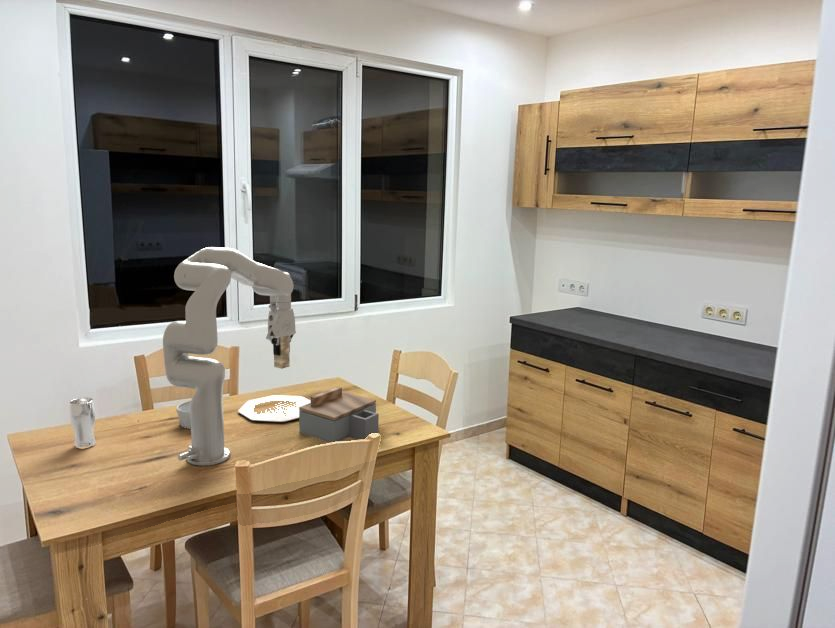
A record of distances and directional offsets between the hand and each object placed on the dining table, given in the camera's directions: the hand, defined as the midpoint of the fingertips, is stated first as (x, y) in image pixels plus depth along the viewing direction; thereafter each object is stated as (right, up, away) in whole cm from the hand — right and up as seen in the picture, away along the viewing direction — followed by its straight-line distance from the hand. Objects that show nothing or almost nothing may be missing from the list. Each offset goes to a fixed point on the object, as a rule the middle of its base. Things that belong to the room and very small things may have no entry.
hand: (281, 353), depth 227 cm
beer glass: (-55, -28, -33) cm, 70 cm away
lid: (+23, -18, -15) cm, 33 cm away
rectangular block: (0, -5, +1) cm, 5 cm away
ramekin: (-27, -24, -13) cm, 39 cm away
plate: (-2, -22, +3) cm, 23 cm away
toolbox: (+26, -26, -16) cm, 40 cm away
